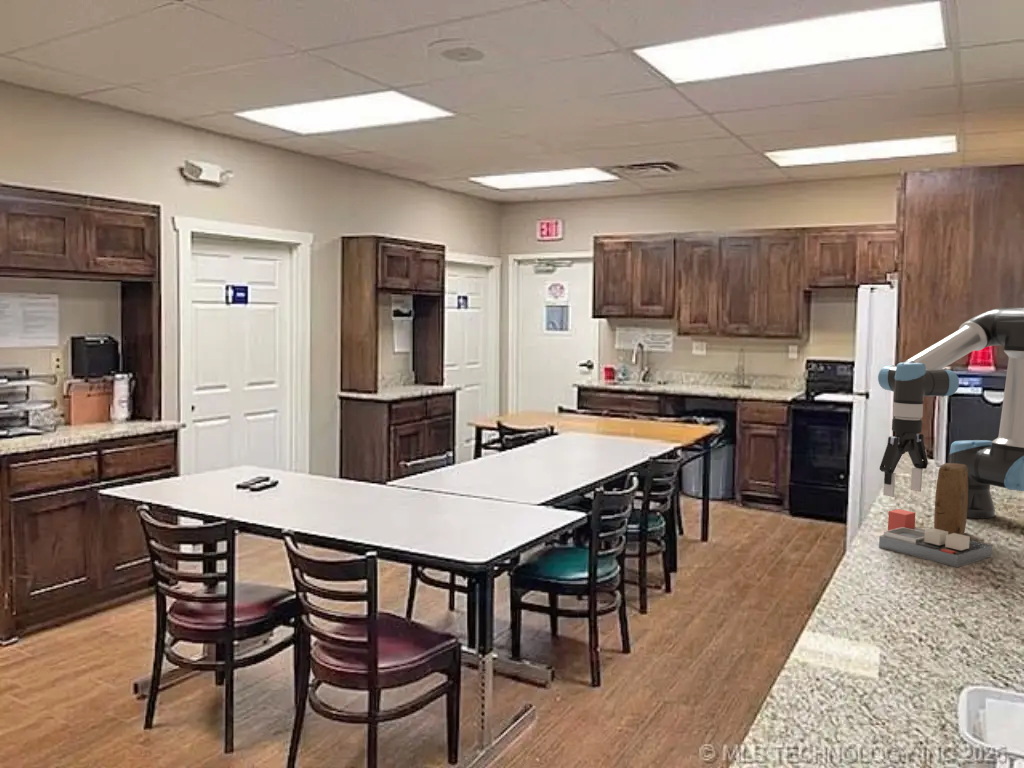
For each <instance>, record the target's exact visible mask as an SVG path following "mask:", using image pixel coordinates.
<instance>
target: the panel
mask: <svg viewBox="0 0 1024 768" xmlns="http://www.w3.org/2000/svg"><path fill="white" fill-rule="evenodd" d="M925 530H926V529H923V528H920V527H916V526H915V527H914V528H910V529H909V528H905V527H900V528H896V529H892V530H888V529H887V530H884V531H883V535H880V536H879V540H878V547H879V548H881V549H884V550H889V551H892V552H897V553H900V554H905V555H908V556H911V557H917V558H919V559H924V560H927V561H930V562H934V561H935V563H938V562H939V563H940V564H943V565H945V566H946V565H947V566H951V567H954V568H959V567H962V566H966V565H970V564H972V563H976V562H979V561H981V560H984V559H988V558H990V557H992V553H993V551H992V550H993V545H992V544H990V543H989V544H988V543H984V542H980V541H975V540H971V539H970V541H969V548H968V549H964V550H956V549H952V548H948V547H945V544H942V545H936V544H932V543H928V542H924V538H925ZM939 563H938V564H939Z"/></svg>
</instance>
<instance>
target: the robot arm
mask: <svg viewBox="0 0 1024 768" xmlns="http://www.w3.org/2000/svg"><path fill="white" fill-rule="evenodd" d="M992 346H994V347H995V346H996V347H997V346H1004V347H1003V352H1004V353H1005V355H1007V358H1008V362H1007V369H1006V377H1005V385H1004V392H1003V398H1002V400H1003V401H1002V408H1001V414H1000V421H999V422H1000V423H999V429H998V430H999V431H998V437H997V438H995V439H993V440H986V439H983V440H980V439H973V440H971V439H969V440H965V439H964V440H963V439H962V440H955V441H953V442H952V443H951V444H950V448H949V449H950V450H949V454H948V455H949V456H948V457H949V459H948V463H957V464H964V465H966V466H967V467H968V506H967V518H970V519H990V518H993V517H995V516H996V508H995V507H996V506H995V504H994V501H993V498H992V495H991V494H992V493H991V491H990V490H991V486H994V487H997V488H1003V489H1007V490H1009V491H1018V492H1024V307H1008V306H1007V307H1005V306H1004V307H997V308H993V309H990V310H987V311H984V312H983V313H980V314H978V315H976V316H974V317H972V318H969V319H968V320H966V321H965V322H963V323H962V324H961V325H959V327H958V330H956V331H955V332H953V333H951V334H949V335H947V336H945V337H943V338H942V339H941V340H939V341H937V342H935V343H934V344H932V345H930V346H928V347H927V348H925V349H924V350H922V351H920V352H918V353H917V354H915V355H913V356H912V357H910V358H908V359H907V360H904V361H903V362H899V363H897V364H896V365H894V364H891V365H885V366H883V367H881V369H880V370H879V373H878V375H877V381H878V384H879V386H880V387H881V389H883V390H885V391H889V392H890V391H891V392H892V393H894V394H893V404H892V408H893V409H892V411H893V412H892V415H893V418H892V421H891V430H892V432H895V435H894V436H891V435H889V436H888V439H887V445H886V448H885V451H884V454H883V456H882V459H881V463H880V465H879V471H880V472H883V473H884V480H883V496H885V497H891V498H894V497H895V490H896V489H895V487H896V486H895V485H896V472H895V470H896V468H897V466H898V465H899V463H900V460H901V458H902V457H903V455H905V454H906V453H908V456H909V458H910V459H911V462H912V465H913V467H911V478H910V491H913V492H920V493H921V492H922V483H923V469H925V470H926V469H927V468H928V465H929V460H928V458H927V457H928V456H927V453H926V447H925V443H924V440H925V439H924V434H922V427H923V420H922V419H923V416H924V412H923V411H924V400H925V399H924V397H925V398H926V397H942V398H944V397H947V396H948V397H950V396H952V395H954V394H955V393H956V392H957V391H958V389H959V386H960V379H959V376H958V375H957V374H956V372H954V371H953V370H950V369H944V368H946V367H948V366H950V365H951V364H953V363H955V362H956V361H958V360H959V359H961V358H963V357H965V356H966V355H968V354H970V353H971V352H973V351H974V352H975V351H976V352H979V351H981V350H983V349H985V348H987V347H992Z"/></svg>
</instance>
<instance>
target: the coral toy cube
mask: <svg viewBox="0 0 1024 768" xmlns="http://www.w3.org/2000/svg"><path fill="white" fill-rule="evenodd" d="M887 518H888V521H887V531H888V530H892V529H896V528H900V527H905V528H909V529H910V528H914V527H915V528H916V526H915V525H916V512H914V511H909V510H905V509H899V508H898V509H892V510H889V511H888V517H887Z"/></svg>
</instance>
